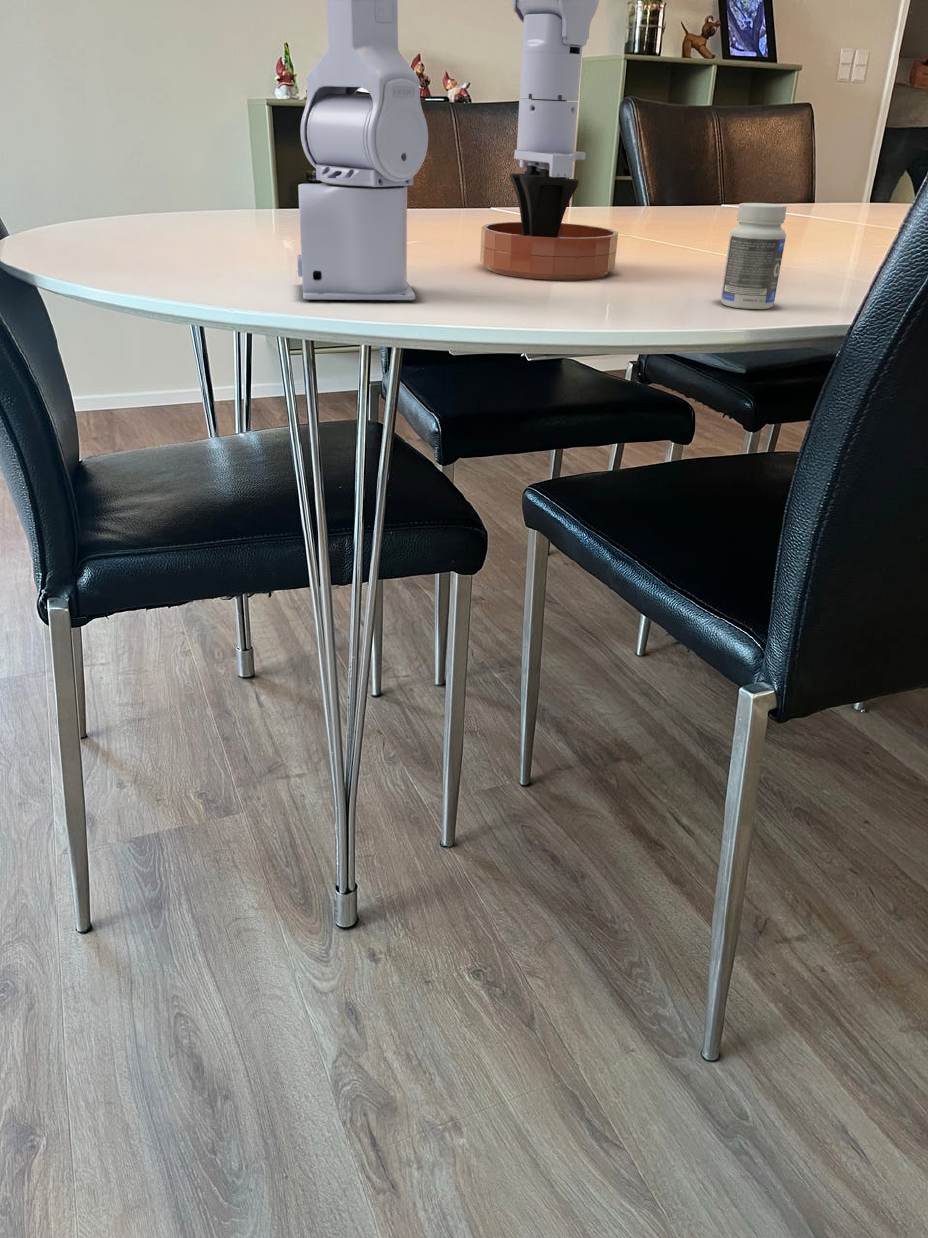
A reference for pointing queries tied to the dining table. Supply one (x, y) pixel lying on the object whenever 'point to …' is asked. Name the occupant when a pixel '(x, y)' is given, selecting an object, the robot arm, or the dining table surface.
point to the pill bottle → (754, 256)
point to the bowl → (549, 252)
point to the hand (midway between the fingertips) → (538, 249)
